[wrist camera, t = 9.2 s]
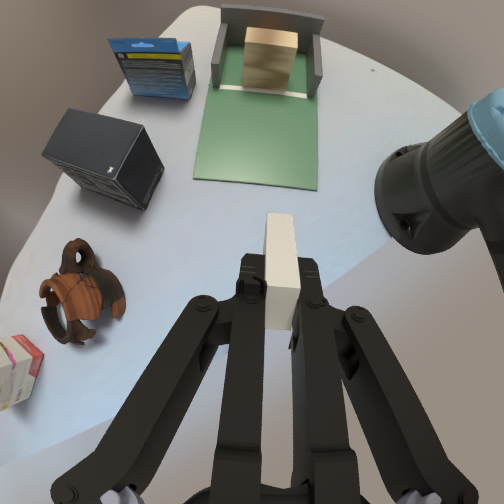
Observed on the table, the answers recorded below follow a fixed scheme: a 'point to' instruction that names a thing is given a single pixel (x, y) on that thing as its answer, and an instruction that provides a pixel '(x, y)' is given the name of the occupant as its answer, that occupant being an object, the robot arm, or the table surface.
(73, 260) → the pottery mug
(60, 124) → the small box
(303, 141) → the pitch
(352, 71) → the table surface
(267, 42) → the wooden block
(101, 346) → the table surface
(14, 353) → the ink cartridge box
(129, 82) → the label tape cartridge
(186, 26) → the table surface
